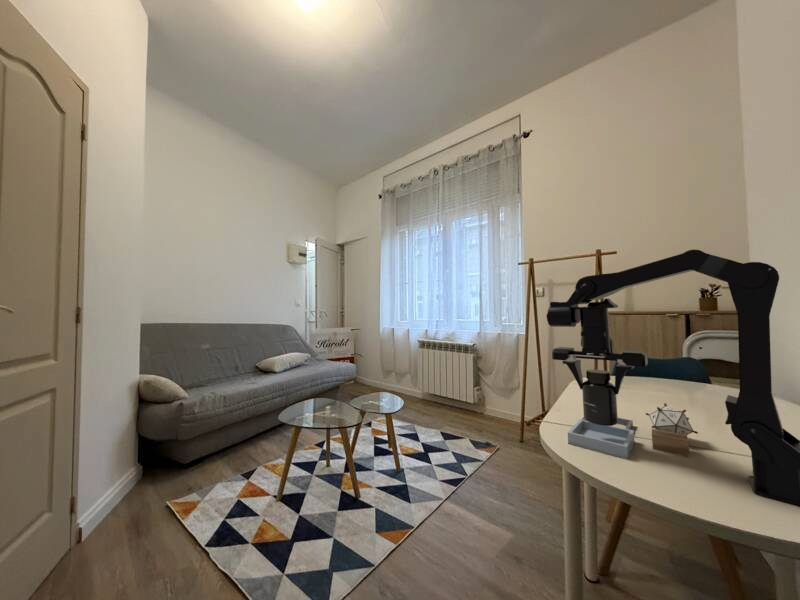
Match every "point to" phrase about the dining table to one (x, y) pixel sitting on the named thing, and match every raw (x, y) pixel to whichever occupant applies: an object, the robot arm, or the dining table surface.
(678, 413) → the game die
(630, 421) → the grey square frame
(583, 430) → the parts tray
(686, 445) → the block
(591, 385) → the supplement bottle
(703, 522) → the dining table surface
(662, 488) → the dining table surface
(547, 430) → the dining table surface
